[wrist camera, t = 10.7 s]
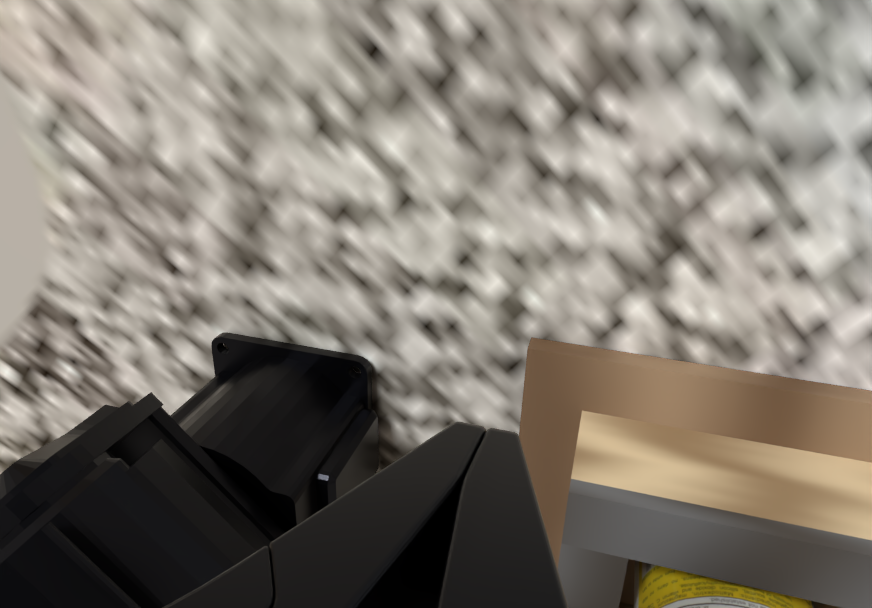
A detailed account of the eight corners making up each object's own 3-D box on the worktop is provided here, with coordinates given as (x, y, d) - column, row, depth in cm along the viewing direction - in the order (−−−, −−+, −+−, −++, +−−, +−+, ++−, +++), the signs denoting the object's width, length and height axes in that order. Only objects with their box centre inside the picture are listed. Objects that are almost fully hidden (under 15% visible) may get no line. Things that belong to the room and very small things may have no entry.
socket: (502, 626, 28) (475, 739, 24) (531, 337, 23) (503, 419, 18) (867, 723, 25) (913, 875, 21) (1015, 413, 19) (1122, 536, 15)
